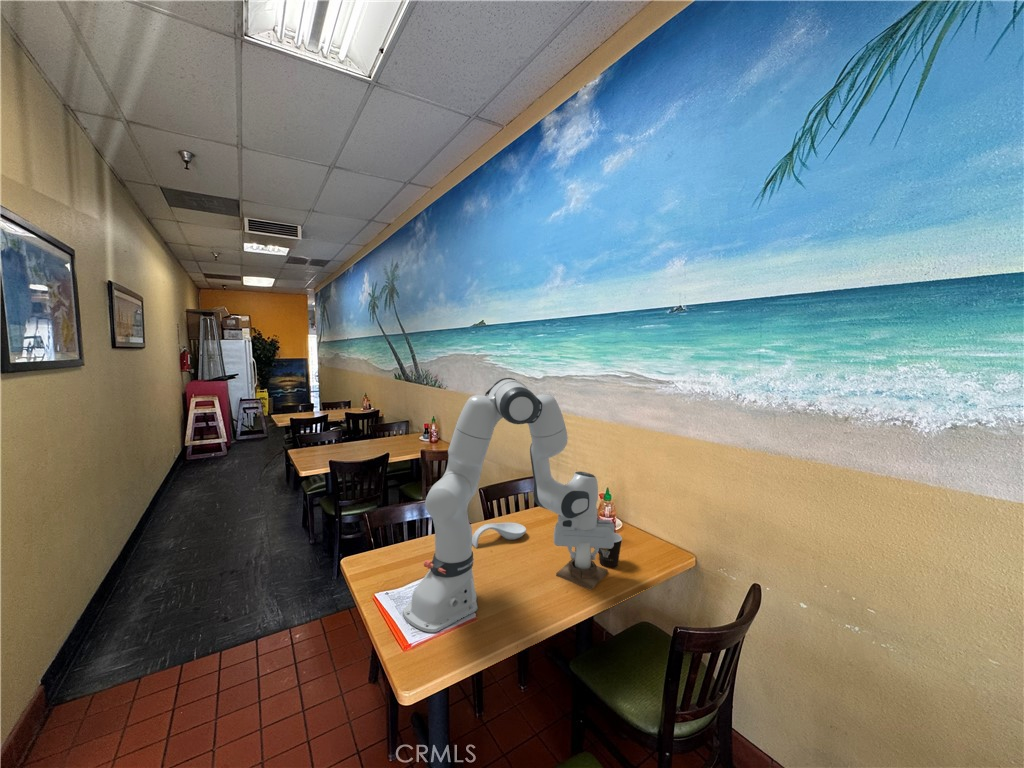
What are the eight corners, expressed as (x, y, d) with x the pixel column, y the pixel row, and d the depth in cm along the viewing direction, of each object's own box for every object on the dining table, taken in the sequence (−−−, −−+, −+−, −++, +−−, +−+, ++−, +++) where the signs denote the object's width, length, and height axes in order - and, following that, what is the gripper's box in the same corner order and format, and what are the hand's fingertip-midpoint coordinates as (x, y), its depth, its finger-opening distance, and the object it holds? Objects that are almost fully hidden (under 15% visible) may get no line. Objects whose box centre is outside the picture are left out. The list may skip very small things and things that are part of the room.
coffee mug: (626, 566, 138) (627, 539, 137) (608, 572, 134) (609, 544, 133) (603, 551, 148) (604, 526, 147) (586, 557, 144) (586, 531, 143)
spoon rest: (516, 528, 168) (516, 512, 167) (531, 539, 158) (532, 522, 158) (467, 541, 155) (467, 523, 155) (480, 553, 145) (480, 535, 145)
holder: (591, 590, 123) (591, 579, 123) (556, 575, 131) (556, 565, 131) (607, 572, 134) (608, 562, 133) (574, 560, 141) (574, 551, 141)
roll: (582, 574, 128) (583, 545, 128) (571, 567, 133) (571, 538, 132) (593, 569, 131) (594, 541, 131) (582, 562, 136) (583, 535, 135)
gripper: (613, 516, 133) (611, 555, 134) (553, 514, 135) (552, 552, 136) (616, 524, 127) (615, 565, 128) (554, 521, 128) (553, 561, 129)
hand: (582, 558), depth 132 cm, fingers closed on roll, 5 cm apart
